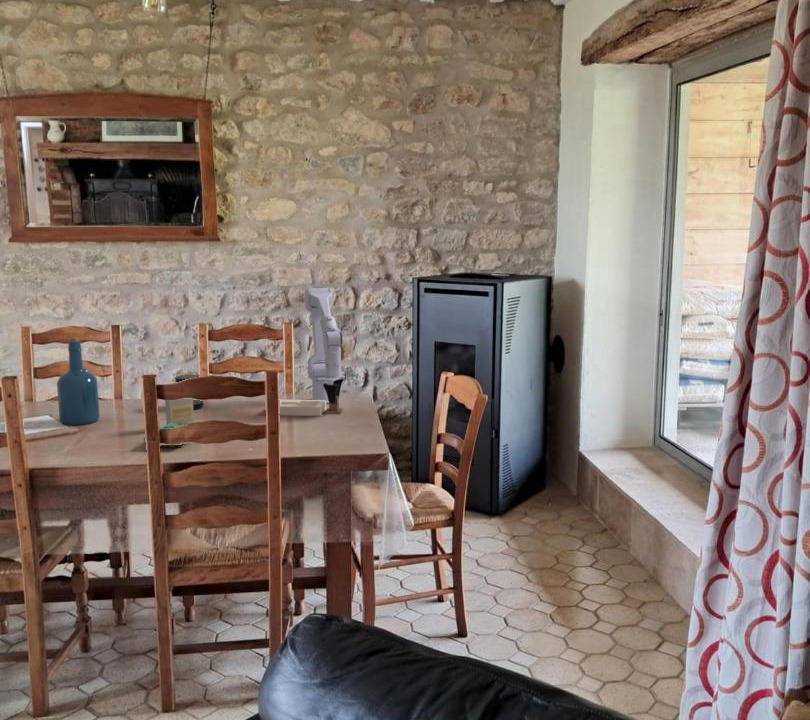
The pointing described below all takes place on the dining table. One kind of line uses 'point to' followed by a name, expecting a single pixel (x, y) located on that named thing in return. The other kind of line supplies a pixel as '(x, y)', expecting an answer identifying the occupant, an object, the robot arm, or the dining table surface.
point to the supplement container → (196, 403)
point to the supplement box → (179, 411)
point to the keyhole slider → (334, 407)
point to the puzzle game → (172, 425)
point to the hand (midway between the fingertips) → (333, 400)
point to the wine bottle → (77, 390)
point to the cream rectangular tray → (302, 407)
